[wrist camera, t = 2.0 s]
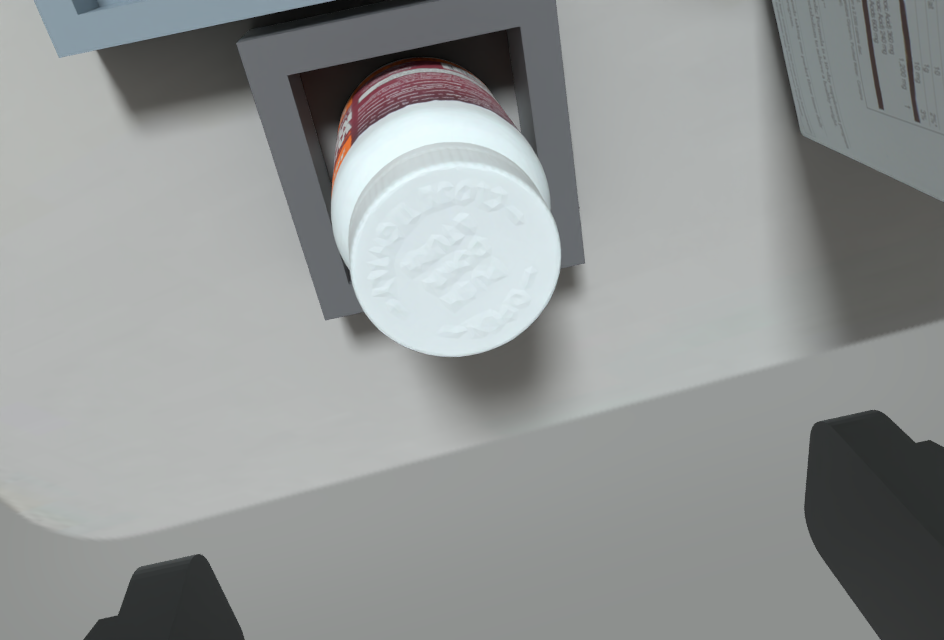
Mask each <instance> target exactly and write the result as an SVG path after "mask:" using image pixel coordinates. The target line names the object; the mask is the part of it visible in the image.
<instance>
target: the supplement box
mask: <svg viewBox="0 0 944 640" xmlns="http://www.w3.org/2000/svg"><path fill="white" fill-rule="evenodd" d="M772 3H773V8H774V12H775V17H776V21H777V26H778V30H779V35H780V39H781V44H782V49H783V53H784V58H785V63H786V67H787V72H788V76H789V81H790V85H791V90H792V94H793V99H794V104H795V108H796V113H797V117H798V122H799V127H800V131H801V134H802V135H803V136H805V137H807V138H809V139H811V140H813V141H815V142H818V143H820V144H822V145H824V146H826V147H828V148H830V149H832V150H835V151H837V152H839V153H841V154H843V155H845V156H847V157H849V158H852V159H854V160H856V161H858V162H860V163H862V164H864V165H866V166H869V167H871V168H873V169H875V170H877V171H879V172H881V173H883V174H885V175H888V176H890V177H892V178H894V179H896V180H898V181H900V182H902V183H905V184H907V185H909V186H911V187H913V188H915V189H917V190H919V191H921V192H923V193H925V194H927V195H930V196H932V197H934V198H936V199H938V200H940V201H942V202H944V0H772Z"/></svg>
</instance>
